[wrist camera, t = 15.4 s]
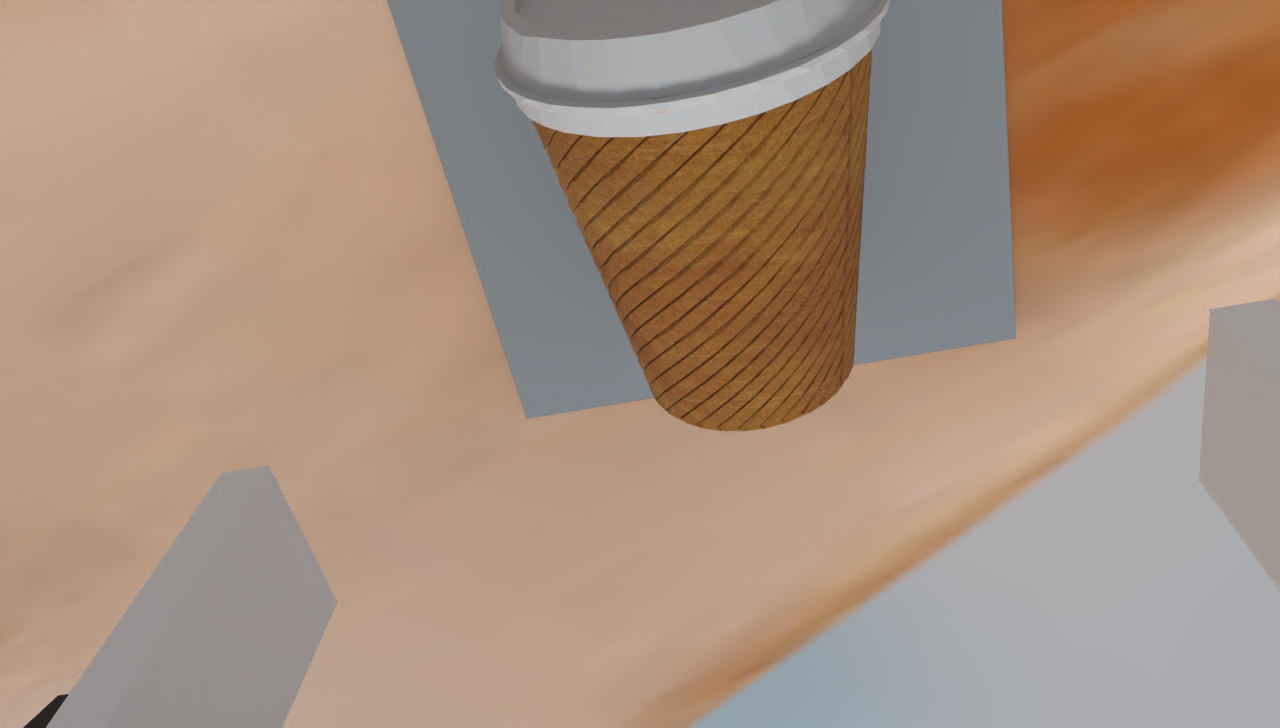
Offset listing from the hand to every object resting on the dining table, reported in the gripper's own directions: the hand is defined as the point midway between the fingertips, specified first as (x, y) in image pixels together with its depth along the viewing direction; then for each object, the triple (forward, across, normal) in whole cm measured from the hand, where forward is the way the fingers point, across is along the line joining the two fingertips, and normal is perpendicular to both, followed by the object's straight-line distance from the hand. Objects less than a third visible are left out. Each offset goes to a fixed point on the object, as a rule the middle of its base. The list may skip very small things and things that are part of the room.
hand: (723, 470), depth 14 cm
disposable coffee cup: (+15, 0, -7) cm, 16 cm away
